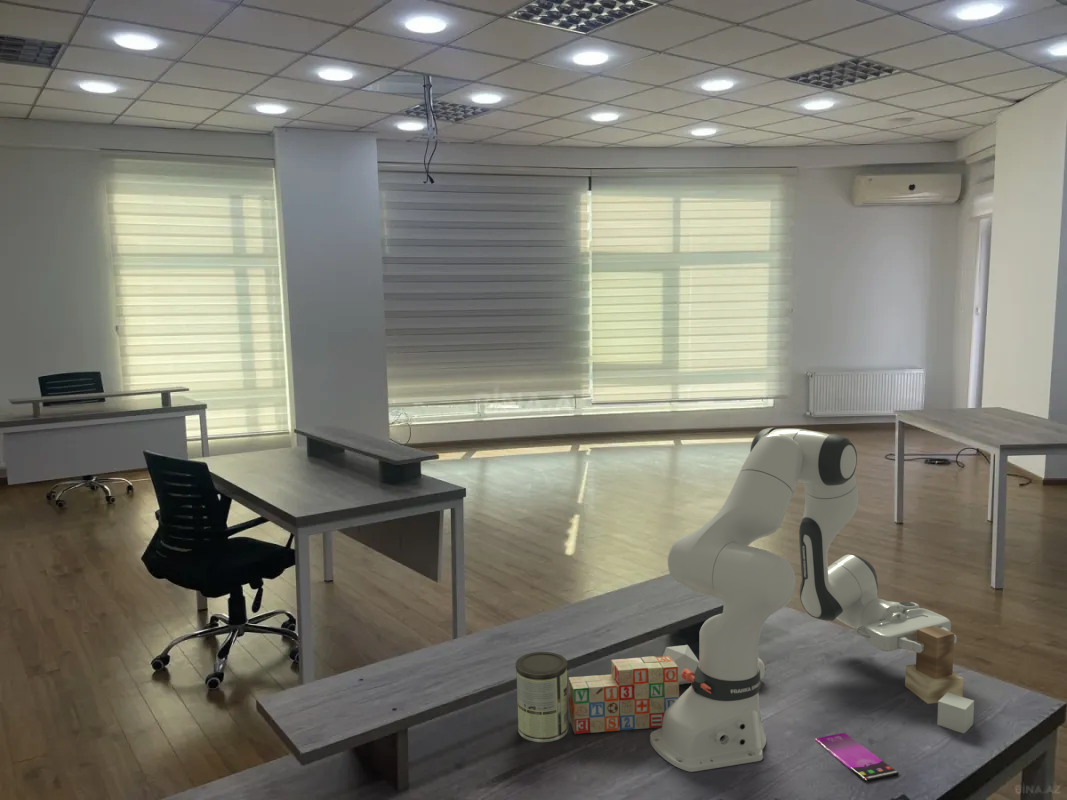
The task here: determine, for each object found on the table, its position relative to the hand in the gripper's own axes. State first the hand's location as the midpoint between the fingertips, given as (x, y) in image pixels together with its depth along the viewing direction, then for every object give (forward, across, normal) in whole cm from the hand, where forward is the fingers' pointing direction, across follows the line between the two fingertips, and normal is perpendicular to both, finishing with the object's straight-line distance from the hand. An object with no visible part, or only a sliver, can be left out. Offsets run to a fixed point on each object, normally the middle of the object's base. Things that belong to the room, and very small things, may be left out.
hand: (938, 644), depth 173 cm
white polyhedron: (-30, -45, +12) cm, 55 cm away
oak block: (-1, 0, +11) cm, 11 cm away
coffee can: (-25, -81, +12) cm, 86 cm away
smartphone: (+10, -33, +12) cm, 37 cm away
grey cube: (+10, -7, +11) cm, 17 cm away
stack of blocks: (-19, -66, +11) cm, 69 cm away
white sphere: (-24, -30, +12) cm, 40 cm away
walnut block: (-1, 0, +6) cm, 6 cm away
